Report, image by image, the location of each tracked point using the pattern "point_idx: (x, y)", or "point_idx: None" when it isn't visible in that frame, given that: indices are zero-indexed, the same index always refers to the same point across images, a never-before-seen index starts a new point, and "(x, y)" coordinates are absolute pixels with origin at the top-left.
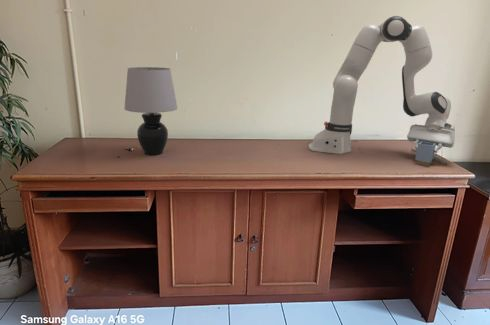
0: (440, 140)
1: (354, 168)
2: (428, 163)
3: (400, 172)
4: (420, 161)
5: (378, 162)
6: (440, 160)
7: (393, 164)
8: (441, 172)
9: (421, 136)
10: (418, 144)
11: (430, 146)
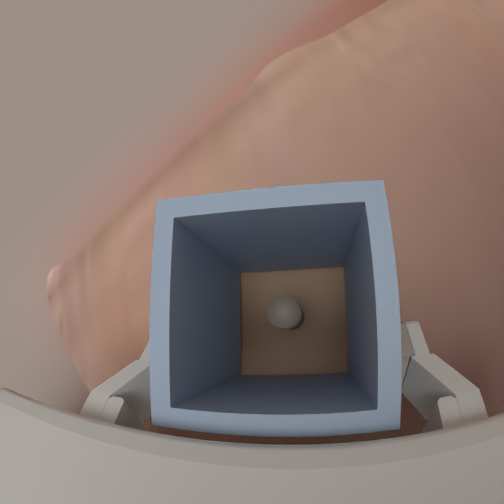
0: (72, 436)
1: (471, 15)
2: None
3: (337, 49)
4: (311, 275)
5: (500, 127)
6: None
7: (439, 142)
8: (153, 202)
9: (439, 485)
10: (374, 186)
11: (196, 201)
